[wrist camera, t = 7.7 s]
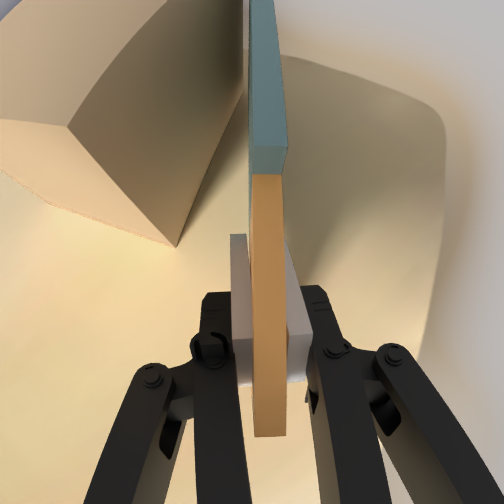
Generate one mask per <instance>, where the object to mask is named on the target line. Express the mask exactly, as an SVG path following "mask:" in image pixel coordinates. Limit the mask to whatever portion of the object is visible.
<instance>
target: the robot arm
mask: <svg viewBox="0 0 504 504" xmlns="http://www.w3.org/2000/svg"><path fill="white" fill-rule="evenodd" d="M284 248H285V284H286V356H287V383H290V382H300V381H305V377H306V376H307V380H308V387H307V392H306V397H305V403H308V404H309V411H310V418H311V426H312V433H313V441H314V449H315V457H316V465H317V474H318V482H319V491H320V500H321V504H392V502H391V496H390V491H389V486H388V481H387V476H386V472H385V467H384V462H383V458H382V454H381V449H380V445H379V441H378V437H379V439H380V441H381V443H382V444H383V446H384V448H385V450H386V452H387V454H388V455H389V457H390V459H391V461H392V463H393V465H394V467H395V468H396V470H397V472H398V474H399V476H400V478H401V480H402V482H403V483H404V485H405V487H406V489H407V491H408V493H409V495H410V497H411V499H412V501H413V503H414V504H504V496H503V494H502V492H501V490H500V489H499V487H498V485H497V483H496V482H495V480H494V478H493V476H492V475H491V473H490V472H489V470H488V468H487V466H486V465H485V463H484V461H483V460H482V458H481V457H480V455H479V453H478V452H477V450H476V449H475V447H474V445H473V444H472V442H471V441H470V439H469V437H468V436H467V434H466V433H465V431H464V430H463V428H462V427H461V425H460V424H459V422H458V421H457V419H456V418H455V416H454V415H453V413H452V412H451V410H450V409H449V407H448V406H447V404H446V403H445V401H444V400H443V399H442V397H441V396H440V394H439V393H438V392H437V390H436V388H435V387H434V386H433V384H432V383H431V381H430V380H429V379H428V377H427V376H426V375H425V373H424V372H423V370H422V369H421V367H420V366H419V365H418V363H417V362H416V361H415V359H414V358H413V357H412V355H411V354H410V353H409V351H408V350H407V349H406V348H405V347H403V346H401V345H399V344H395V343H388V344H384V345H382V346H381V347H379V349H378V350H377V351H368V350H361V349H357V348H355V347H352V345H351V344H350V343H349V342H348V341H347V340H346V339H344V338H343V336H342V334H341V331H340V328H339V325H338V323H337V320H336V317H335V315H334V312H333V310H332V307H331V304H330V303H329V299H328V296H327V294H326V292H325V291H324V290H323V289H322V288H321V287H320V286H319V285H309V286H299V283H298V279H297V276H296V272H295V269H294V266H293V262H292V259H291V256H290V253H289V249H288V246H287V243H286V240H285V236H284ZM230 258H231V291H229V292H209V293H207V294H206V296H205V297H204V299H203V300H202V306H201V317H200V319H201V320H200V329H199V333H197V334H196V335H195V336H194V337H193V338H192V339H191V342H190V350H191V354H192V359H191V360H190V361H189V362H187V363H185V364H183V365H180V366H177V367H173V368H170V369H169V368H167V367H166V366H165V365H163V364H160V363H150V364H146V365H144V366H142V367H141V368H139V369H138V370H137V372H136V373H135V375H134V377H133V379H132V381H131V384H130V386H129V388H128V391H127V393H126V395H125V398H124V400H123V402H122V405H121V407H120V409H119V412H118V414H117V417H116V419H115V421H114V424H113V426H112V429H111V431H110V434H109V436H108V439H107V441H106V444H105V446H104V449H103V451H102V454H101V457H100V459H99V462H98V464H97V467H96V470H95V472H94V475H93V478H92V481H91V483H90V486H89V489H88V492H87V494H86V497H85V500H84V503H83V504H164V502H165V498H166V495H167V491H168V487H169V483H170V480H171V476H172V472H173V469H174V465H175V461H176V458H177V454H178V451H179V447H180V443H181V440H182V436H183V433H184V429H185V425H186V422H187V420H188V419H191V418H194V445H195V472H196V491H197V504H252V498H251V490H250V483H249V476H248V468H247V461H246V453H245V445H244V437H243V429H242V421H241V412H240V404H239V395H238V386H252V340H253V338H252V300H251V277H250V267H249V257H248V247H247V237H246V234H230ZM377 435H378V437H377Z"/></svg>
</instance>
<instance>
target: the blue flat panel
mask: <svg viewBox="0 0 504 504" xmlns="http://www.w3.org/2000/svg"><path fill="white" fill-rule="evenodd" d="M248 136H249V267H250V277H251V300H252V338H253V340H252V386H251V393H252V407H253V421H254V435H255V437H276V436H286V389H287V356H286V284H285V248H284V220H283V197H282V176H281V174H282V170H283V166H284V161H285V157H286V153H287V148H288V139H287V126H286V114H285V103H284V92H283V81H282V71H281V61H280V52H279V43H278V34H277V26H276V17H275V10H274V2H273V0H249V65H248Z"/></svg>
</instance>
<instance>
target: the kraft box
mask: <svg viewBox="0 0 504 504" xmlns="http://www.w3.org/2000/svg"><path fill="white" fill-rule="evenodd" d="M242 93H243V0H22V1H21V2H20V3H19V4H18V5H17V6H16V7H15V8H14V9H13V10H12V11H11V12H9V13H8V15H6V16H5V17H4V18H3V19H2V21H1V22H0V170H1V171H3V172H4V173H5V174H7V175H8V176H10V177H11V178H12V179H14V180H15V181H17V182H18V183H19V184H21V185H22V186H24V187H25V188H27V189H28V190H29V191H31V192H32V193H34V194H35V195H37V196H38V197H40V198H41V199H43V200H44V201H46V202H47V203H49V204H51V205H54V206H57V207H60V208H62V209H65V210H68V211H71V212H73V213H76V214H79V215H82V216H85V217H87V218H90V219H93V220H96V221H99V222H102V223H104V224H107V225H110V226H113V227H116V228H119V229H121V230H124V231H127V232H130V233H133V234H136V235H139V236H142V237H145V238H147V239H150V240H153V241H156V242H159V243H162V244H165V245H168V246H171V247H174V248H176V246H177V243H178V240H179V238H180V235H181V232H182V230H183V227H184V225H185V222H186V220H187V217H188V215H189V212H190V210H191V207H192V205H193V202H194V200H195V197H196V195H197V192H198V190H199V188H200V185H201V183H202V181H203V178H204V176H205V173H206V171H207V169H208V166H209V164H210V162H211V160H212V157H213V155H214V153H215V151H216V148H217V146H218V144H219V142H220V139H221V137H222V135H223V133H224V131H225V128H226V126H227V124H228V122H229V120H230V118H231V116H232V114H233V111H234V109H235V107H236V105H237V103H238V101H239V99H240V97H241V95H242Z"/></svg>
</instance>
